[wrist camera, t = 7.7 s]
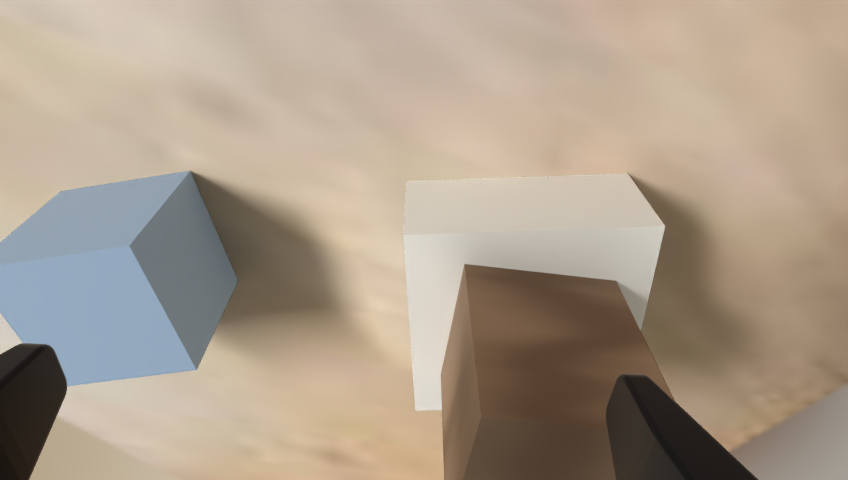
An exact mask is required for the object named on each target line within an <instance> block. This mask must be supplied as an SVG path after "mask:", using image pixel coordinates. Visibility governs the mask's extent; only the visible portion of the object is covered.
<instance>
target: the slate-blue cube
mask: <svg viewBox="0 0 848 480" xmlns="http://www.w3.org/2000/svg"><path fill="white" fill-rule="evenodd" d="M237 282H238V280H237V277H236V275H235V273H234V270H233V268H232V266H231V263H230V261H229V259H228V257H227V254H226V252H225V250H224V247H223V245H222V243H221V240H220V238H219V236H218V234H217V231H216V229H215V227H214V224H213V222H212V220H211V217H210V215H209V213H208V210H207V208H206V206H205V204H204V201H203V199H202V197H201V194H200V192H199V190H198V187H197V185H196V183H195V180H194V178H193V176H192V174H191V171H186V172H180V173H173V174H167V175H161V176H154V177H148V178H142V179H135V180H129V181H123V182H116V183H110V184H104V185H97V186H91V187H85V188H78V189H72V190H66V191H61V192H59V193H58V194H57V195H56V196H55V197H53V198H52V199H51V200H50V201H49V202H48V203H46V204H45V205H44V206H43V207H42V208H40V209H39V210H38V211H37V212H36V213H34V214H33V215H32V216H31V217H30V218H29V219H27V220H26V221H25V222H24V223H23V224H21V225H20V226H19V227H18V228H17V229H16V230H14V231H13V232H12V233H11V234H10V235H8V236H7V237H6V238H5V239H4V240H2V241H1V242H0V313H1V314H2V316H3V317H4V318H5V320H6V321H7V322H8V323H9V325H10V326H11V327H12V329H13V330H14V331H15V333H16V334H17V335H18V337H19V338H20V339H21V341H22V342H23V343H34V344H47V345H50V346H51V347H52V348H53V349H54V351H55V353H56V355H57V357H58V360H59V362H60V365H61V367H62V370H63V372H64V374H65V377H66V380H67V386H73V385H81V384H89V383H97V382H105V381H113V380H121V379H128V378H136V377H144V376H152V375H160V374H168V373H176V372H184V371H192V370H197V368H198V366H199V364H200V362H201V359H202V357H203V355H204V353H205V351H206V349H207V347H208V344H209V342H210V340H211V338H212V336H213V334H214V332H215V329H216V327H217V325H218V323H219V321H220V319H221V316H222V314H223V312H224V310H225V308H226V306H227V304H228V301H229V299H230V297H231V295H232V293H233V291H234V289H235V286H236V284H237Z"/></svg>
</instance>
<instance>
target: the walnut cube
mask: <svg viewBox="0 0 848 480" xmlns="http://www.w3.org/2000/svg"><path fill="white" fill-rule="evenodd" d="M624 373H626V374H643V375H646V376H648V377H649V378H650V379H652V380H653V381H654V382H655V383H656V384H657V385H658V386H659V387H660V388H661V389H662V390H663V391H664V392H665V393H666V394H668V395H669V396H670V397H671V398H672V399H673V400H674V398H673V396H672V394H671V392H670V390H669V388H668V386H667V384H666V382H665V380H664V378H663V376H662V374H661V372H660V370H659V368H658V366H657V363H656V361H655V359H654V357H653V355H652V353H651V351H650V349H649V347H648V345H647V343H646V341H645V339H644V337H643V335H642V333H641V331H640V329H639V327H638V325H637V323H636V320H635V318H634V316H633V314H632V312H631V310H630V308H629V306H628V304H627V302H626V300H625V298H624V296H623V294H622V292H621V290H620V288H619V286H618V284H617V282H616V281H614V280H605V279H596V278H587V277H578V276H569V275H560V274H551V273H542V272H533V271H524V270H515V269H506V268H497V267H488V266H479V265H470V264H464V268H463V273H462V278H461V282H460V287H459V292H458V296H457V301H456V306H455V310H454V315H453V319H452V324H451V329H450V333H449V338H448V343H447V347H446V352H445V357H444V361H443V366H442V371H441V399H442V427H443V455H444V480H616V475H615V470H614V464H613V458H612V452H611V447H610V441H609V435H608V429H607V423H606V408H607V404H608V402H609V399H610V396H611V394H612V391H613V388H614V385H615V383H616V380H617V378H618V377H619V376H620V375H621V374H624ZM674 401H675V400H674Z"/></svg>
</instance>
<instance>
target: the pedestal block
mask: <svg viewBox="0 0 848 480" xmlns="http://www.w3.org/2000/svg"><path fill="white" fill-rule="evenodd" d="M664 229H665V225H664V224H663V222H662V221H661V219H660V218H659V217H658V215H657V214H656V212H655V211H654V210H653V208H652V207H651V205H650V204H649V203H648V201H647V200H646V198H645V197H644V196H643V194H642V193H641V191H640V190H639V189H638V187H637V186H636V184H635V183H634V182H633V180H632V179H631V177H630V176H629V175H628V173H616V174H589V175H562V176H534V177H507V178H479V179H452V180H425V181H406V190H405V208H404V226H403V243H404V257H405V271H406V285H407V299H408V313H409V327H410V342H411V356H412V370H413V384H414V398H415V411H420V410H442V399H441V371H442V366H443V361H444V357H445V352H446V347H447V343H448V338H449V333H450V329H451V324H452V319H453V315H454V310H455V306H456V301H457V296H458V292H459V287H460V282H461V278H462V273H463V268H464V264H470V265H479V266H488V267H497V268H506V269H515V270H524V271H533V272H542V273H551V274H560V275H569V276H578V277H587V278H596V279H605V280H614V281H616V282H617V284H618V286H619V288H620V290H621V292H622V294H623V296H624V298H625V300H626V302H627V304H628V306H629V308H630V310H631V312H632V314H633V316H634V318H635V320H636V323H637V325H638V327H639V329H640V331H641V329H642V325H643V321H644V316H645V312H646V308H647V303H648V299H649V295H650V290H651V286H652V282H653V277H654V273H655V269H656V264H657V260H658V256H659V251H660V247H661V242H662V238H663V234H664Z"/></svg>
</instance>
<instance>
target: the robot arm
mask: <svg viewBox="0 0 848 480" xmlns="http://www.w3.org/2000/svg"><path fill="white" fill-rule="evenodd" d="M66 391H67V380H66V377H65V374H64V372H63V370H62V367H61V365H60V362H59V360H58V357H57V355H56V353H55V351H54V349H53V348H52V347H51V346H50V345H47V344H34V343H23V344H19V345H17V346H15V347H13V348H11V349H9V350H7V351H6V352H4V353H2V354H0V480H29V478H30V476H31V474H32V472H33V470H34V467H35V465H36V463H37V460H38V458H39V456H40V453H41V451H42V449H43V446H44V444H45V442H46V439H47V437H48V435H49V432H50V430H51V428H52V426H53V423H54V421H55V419H56V416H57V414H58V412H59V409H60V407H61V405H62V402H63V400H64V398H65V395H66ZM606 423H607V429H608V435H609V441H610V447H611V452H612V458H613V464H614V470H615V475H616V480H758V479H757V478H756V477H755V476H754V475H753V474H752V473H751V472H749V471H748V470H747V469H746V468H745V467H744V466H743V465H742V464H741V463H740V462H739V461H738V460H737V459H736V458H735V457H733V456H732V455H731V454H730V453H729V452H728V451H727V450H726V449H725V448H724V447H723V446H722V445H721V444H720V443H719V442H718V441H717V440H715V439H714V438H713V437H712V436H711V435H710V434H709V433H708V432H707V431H706V430H705V429H704V428H703V427H702V426H701V425H699V424H698V423H697V422H696V421H695V420H694V419H693V418H692V417H691V416H690V415H689V414H688V413H687V412H686V411H685V410H684V409H682V408H681V407H680V406H679V405H678V404H677V403H676V402H675V401H674V400H673V399H672V398H671V397H670V396H669V395H668V394H666V393H665V392H664V391H663V390H662V389H661V388H660V387H659V386H658V385H657V384H656V383H655V382H654V381H653V380H652V379H650V378H649V377H648V376H646V375H643V374H626V373H624V374H621V375H620V376H619V377H618V378H617V380H616V383H615V385H614V388H613V391H612V394H611V396H610V399H609V402H608V404H607V408H606Z"/></svg>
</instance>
